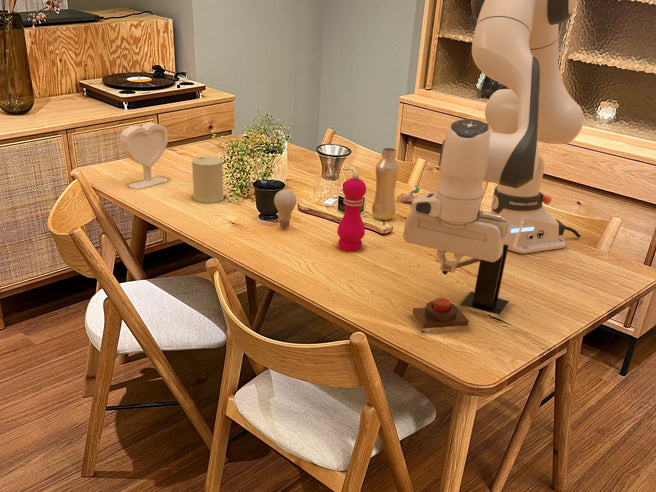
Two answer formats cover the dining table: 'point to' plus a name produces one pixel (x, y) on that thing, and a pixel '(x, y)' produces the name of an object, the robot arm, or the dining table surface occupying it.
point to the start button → (442, 305)
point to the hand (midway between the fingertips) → (447, 270)
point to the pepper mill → (352, 215)
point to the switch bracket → (488, 286)
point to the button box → (439, 317)
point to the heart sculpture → (145, 149)
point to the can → (207, 179)
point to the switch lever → (464, 263)
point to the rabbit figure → (409, 195)
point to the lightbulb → (285, 206)
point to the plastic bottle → (385, 185)
